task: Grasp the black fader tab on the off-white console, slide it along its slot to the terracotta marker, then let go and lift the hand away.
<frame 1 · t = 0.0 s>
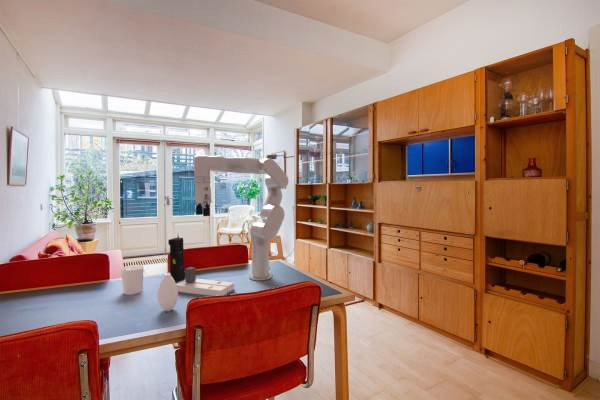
hand: (202, 215, 156), 37 cm above the table, tool pointing down, fingers open, 9 cm apart
portable radio: (177, 279, 173), on the table
fader tab: (190, 277, 156), point 6 cm above the table, slide at 0.0 cm
sauce bottle: (168, 310, 132), on the table
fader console: (204, 291, 154), on the table
candle holder: (133, 292, 154), on the table
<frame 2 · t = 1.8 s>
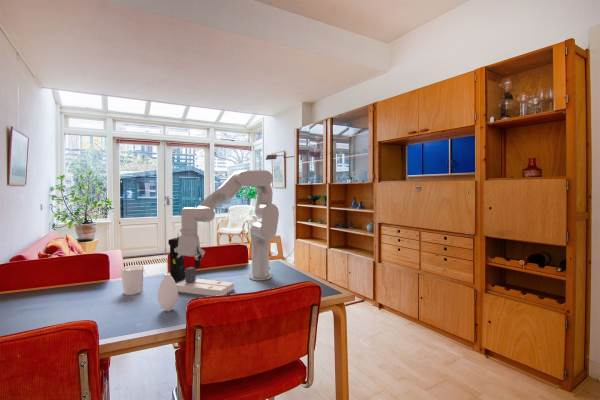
hand: (189, 266, 156), 12 cm above the table, tool pointing down, fingers open, 9 cm apart
nothing on the table moved.
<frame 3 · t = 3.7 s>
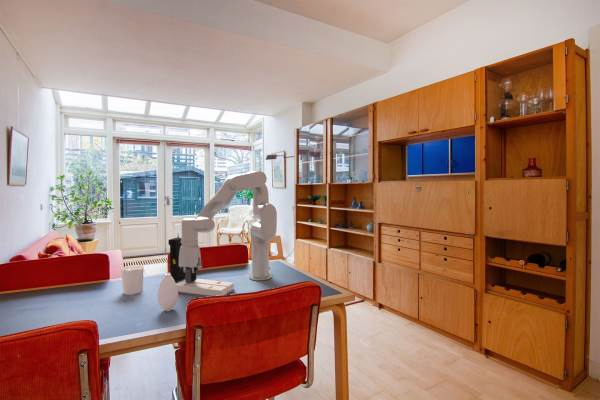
hand: (190, 279, 156), 5 cm above the table, tool pointing down, fingers closed on fader tab, 3 cm apart
fader tab: (190, 277, 156), point 6 cm above the table, slide at 0.0 cm, touching gripper
everything else where it was.
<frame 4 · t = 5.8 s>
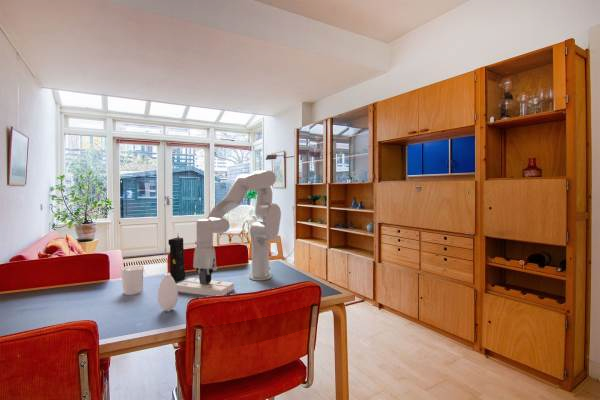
hand: (205, 281, 154), 5 cm above the table, tool pointing down, fingers closed on fader tab, 3 cm apart
fader tab: (205, 279, 154), point 6 cm above the table, slide at 8.6 cm, touching gripper
everything else where it was.
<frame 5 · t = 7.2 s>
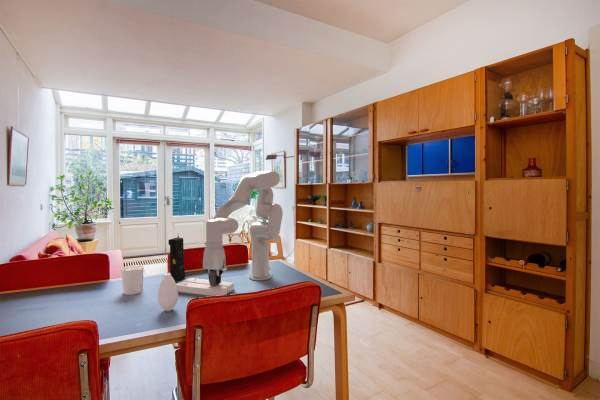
hand: (214, 282, 152), 5 cm above the table, tool pointing down, fingers closed on fader tab, 3 cm apart
fader tab: (214, 280, 152), point 6 cm above the table, slide at 13.9 cm, touching gripper
everything else where it was.
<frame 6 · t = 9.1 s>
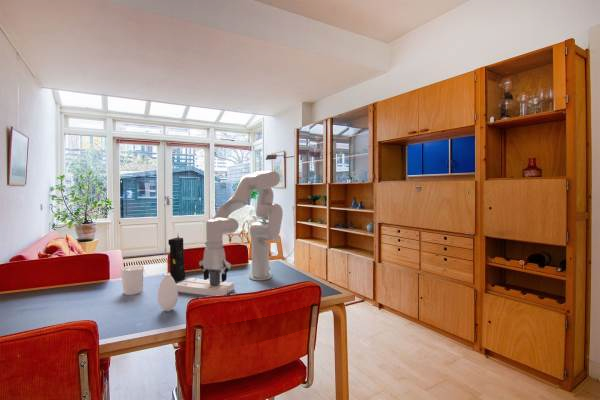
hand: (215, 280, 152), 6 cm above the table, tool pointing down, fingers open, 9 cm apart
fader tab: (215, 280, 152), point 6 cm above the table, slide at 14.0 cm
everything else where it was.
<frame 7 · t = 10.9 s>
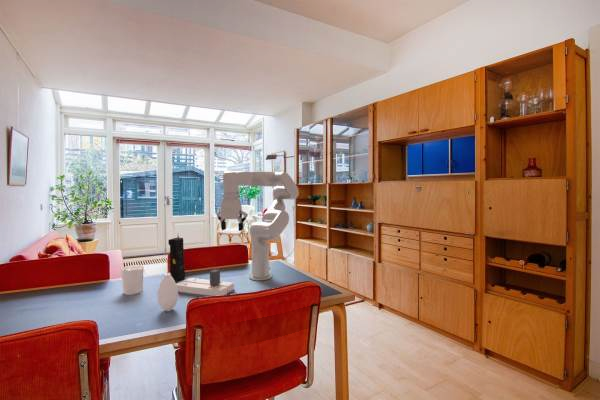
hand: (232, 230, 159), 30 cm above the table, tool pointing down, fingers open, 9 cm apart
nothing on the table moved.
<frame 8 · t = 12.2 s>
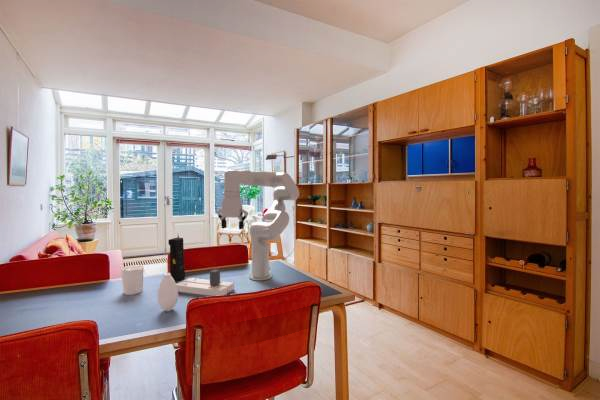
hand: (232, 228, 159), 30 cm above the table, tool pointing down, fingers open, 9 cm apart
nothing on the table moved.
at the end: fader tab slide at 14.0 cm; the gripper is holding nothing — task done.
